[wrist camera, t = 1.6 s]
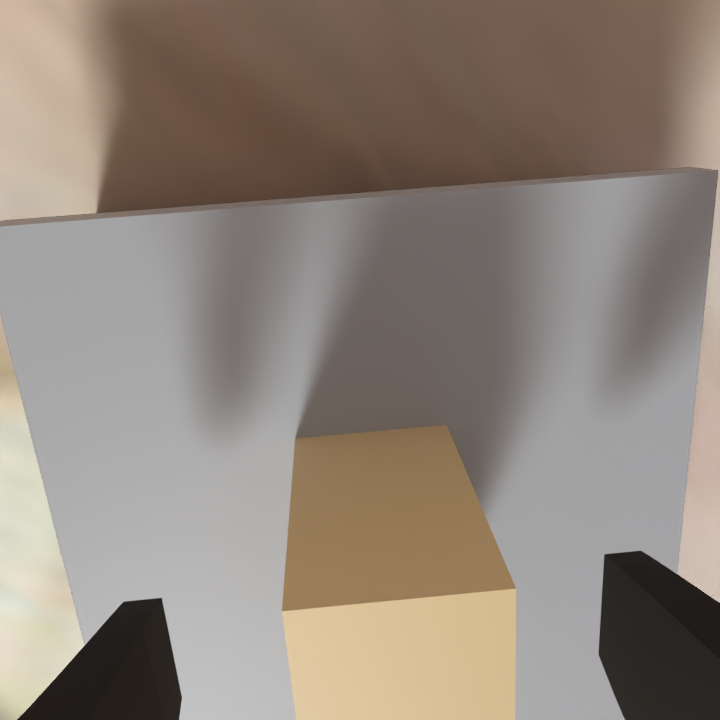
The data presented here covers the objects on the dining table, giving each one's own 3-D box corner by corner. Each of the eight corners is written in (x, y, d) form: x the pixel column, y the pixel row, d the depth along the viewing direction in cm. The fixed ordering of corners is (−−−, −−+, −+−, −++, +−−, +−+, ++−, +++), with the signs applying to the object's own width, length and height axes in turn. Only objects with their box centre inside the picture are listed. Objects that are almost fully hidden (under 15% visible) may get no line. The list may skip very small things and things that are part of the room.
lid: (688, 167, 13) (975, 199, 7) (642, 693, 17) (801, 970, 12) (4, 220, 13) (-256, 298, 7) (130, 746, 17) (36, 1059, 11)
